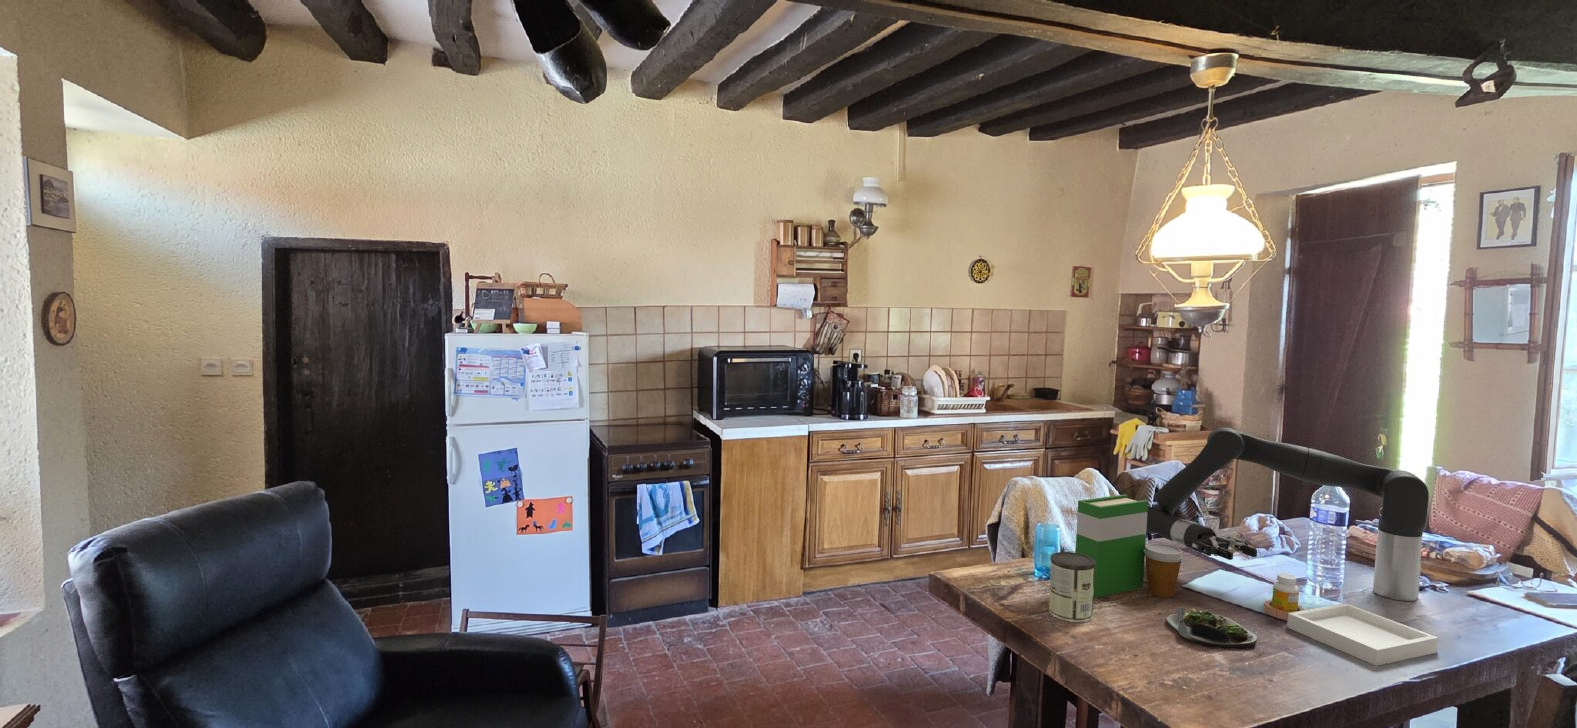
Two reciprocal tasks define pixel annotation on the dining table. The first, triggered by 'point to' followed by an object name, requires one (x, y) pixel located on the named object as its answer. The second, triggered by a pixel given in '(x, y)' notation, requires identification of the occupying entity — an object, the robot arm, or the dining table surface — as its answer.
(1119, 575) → the hardback book
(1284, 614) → the cup holder
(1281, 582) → the supplement bottle
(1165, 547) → the disposable coffee cup
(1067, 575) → the coffee can
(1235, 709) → the dining table surface
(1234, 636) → the salad plate
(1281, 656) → the dining table surface
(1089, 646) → the dining table surface
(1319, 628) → the tray
